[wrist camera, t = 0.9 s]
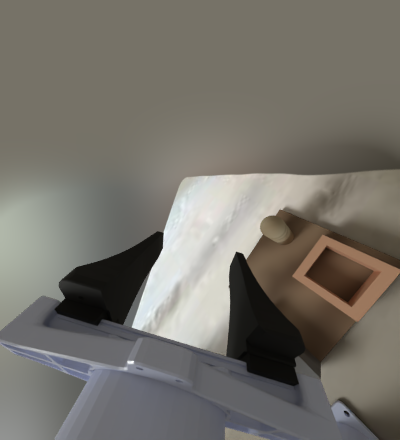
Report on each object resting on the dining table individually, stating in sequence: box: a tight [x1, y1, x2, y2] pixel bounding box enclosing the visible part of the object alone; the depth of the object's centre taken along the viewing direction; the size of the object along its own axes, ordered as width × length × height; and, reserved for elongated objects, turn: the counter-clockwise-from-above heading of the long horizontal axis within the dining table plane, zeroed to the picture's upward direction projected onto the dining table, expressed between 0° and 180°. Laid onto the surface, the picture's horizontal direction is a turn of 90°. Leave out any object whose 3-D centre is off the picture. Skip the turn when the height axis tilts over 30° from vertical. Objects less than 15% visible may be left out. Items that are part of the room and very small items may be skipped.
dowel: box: [260, 216, 294, 245], centre depth 22 cm, size 3×3×8 cm
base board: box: [229, 210, 400, 379], centre depth 22 cm, size 15×18×5 cm
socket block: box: [292, 235, 400, 322], centre depth 18 cm, size 7×7×3 cm
